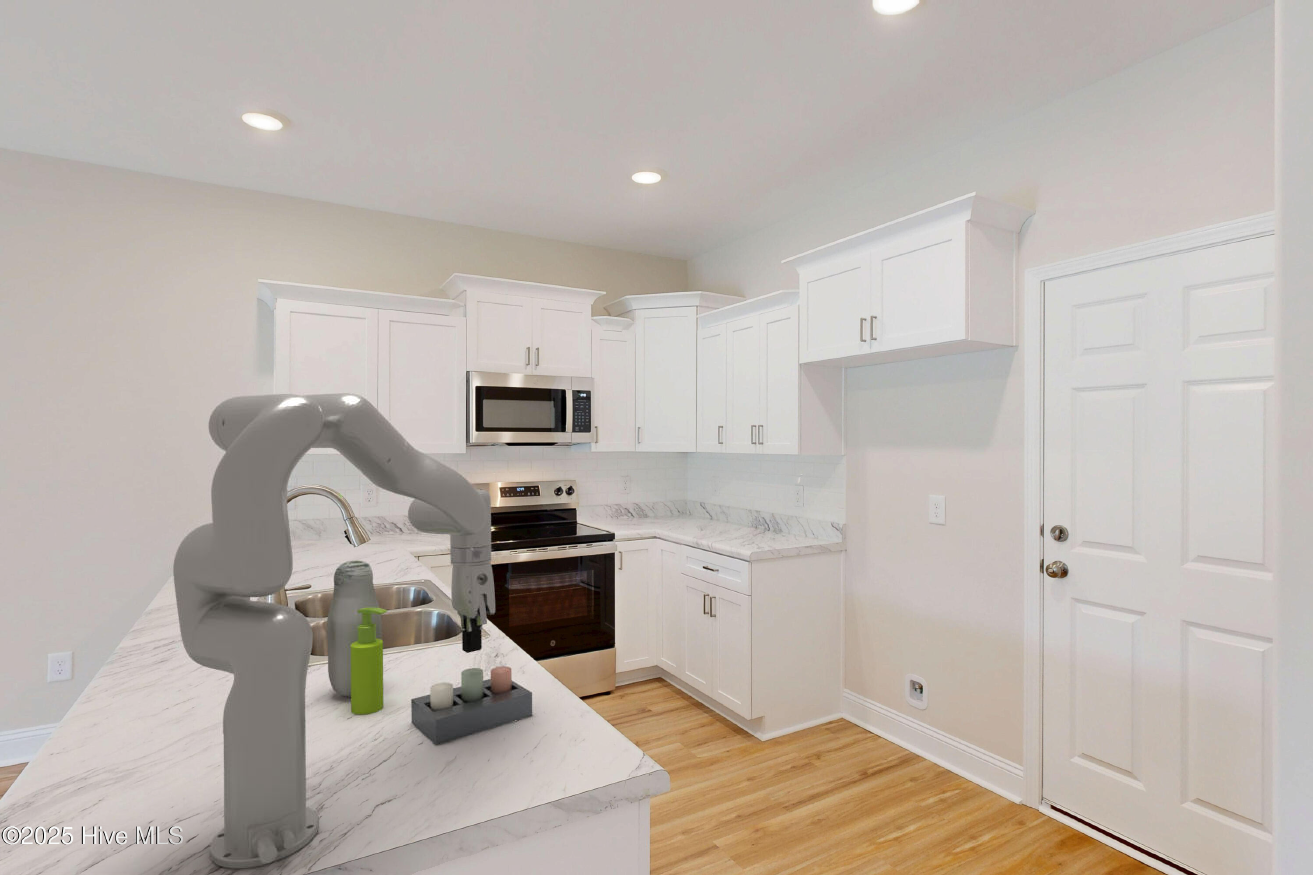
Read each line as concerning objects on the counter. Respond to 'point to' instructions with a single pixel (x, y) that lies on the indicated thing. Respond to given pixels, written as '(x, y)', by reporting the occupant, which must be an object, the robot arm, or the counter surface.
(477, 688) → the green piece
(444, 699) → the cream rounded cylinder
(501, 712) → the gray socket block
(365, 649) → the soap dispenser
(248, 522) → the robot arm
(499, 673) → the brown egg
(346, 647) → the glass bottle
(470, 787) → the counter surface
